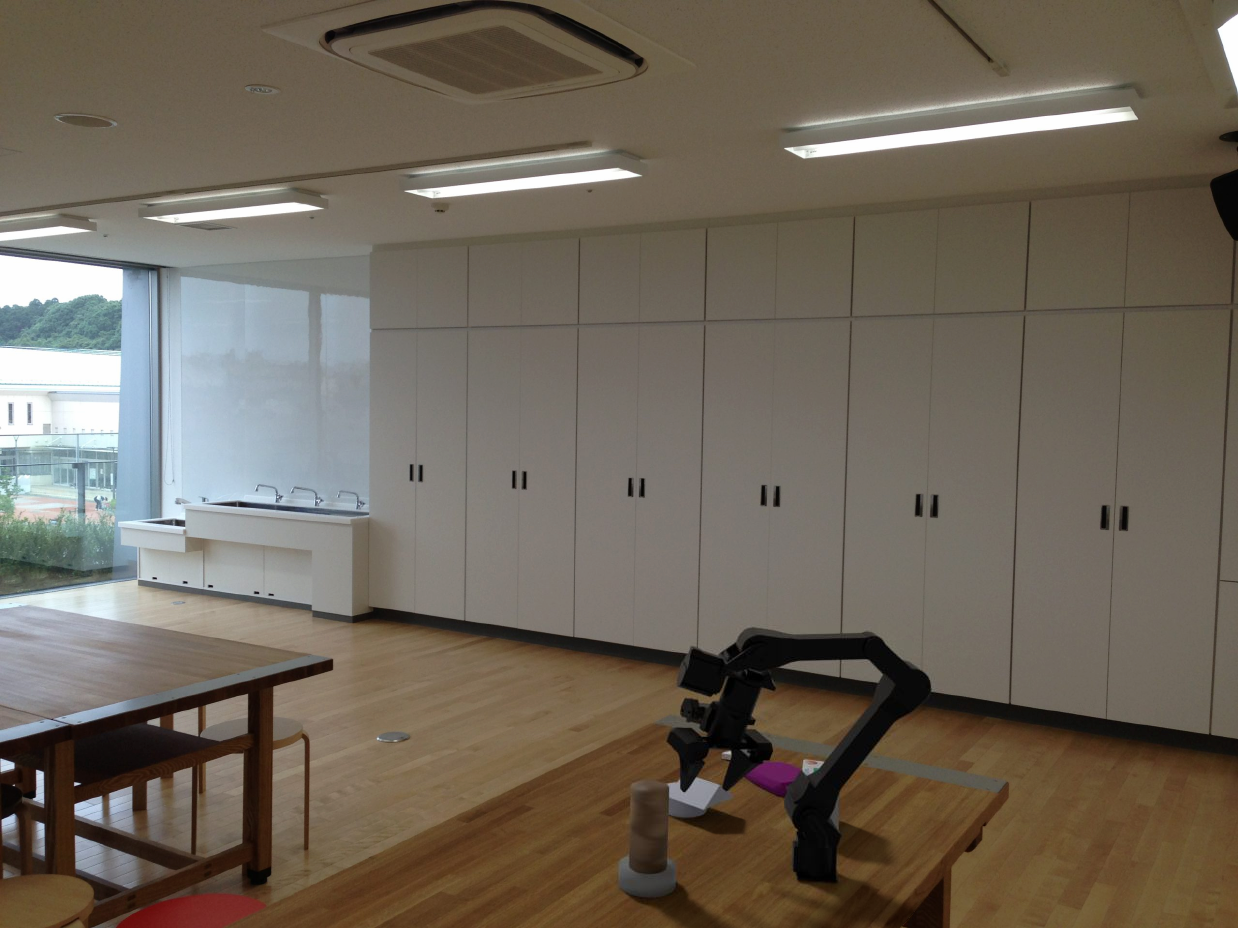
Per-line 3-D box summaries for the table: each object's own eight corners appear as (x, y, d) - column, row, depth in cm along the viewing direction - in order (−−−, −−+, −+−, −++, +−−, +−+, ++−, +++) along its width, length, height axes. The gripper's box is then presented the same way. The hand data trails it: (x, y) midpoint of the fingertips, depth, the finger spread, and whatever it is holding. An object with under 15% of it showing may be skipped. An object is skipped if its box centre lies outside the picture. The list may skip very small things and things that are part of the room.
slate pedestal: (675, 872, 165) (676, 854, 165) (675, 898, 156) (675, 879, 156) (620, 869, 166) (620, 851, 166) (616, 895, 157) (616, 876, 157)
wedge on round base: (733, 814, 190) (679, 795, 199) (734, 778, 190) (680, 761, 199) (703, 827, 184) (648, 807, 193) (704, 791, 184) (649, 772, 192)
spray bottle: (776, 799, 199) (710, 762, 221) (821, 791, 204) (752, 755, 226) (776, 784, 199) (710, 748, 221) (822, 777, 204) (753, 742, 226)
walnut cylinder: (667, 858, 164) (669, 781, 163) (666, 874, 158) (669, 794, 157) (629, 856, 164) (632, 779, 164) (627, 872, 158) (629, 792, 158)
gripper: (747, 682, 177) (716, 762, 179) (663, 677, 166) (632, 763, 168) (789, 715, 168) (756, 799, 170) (704, 712, 157) (670, 802, 159)
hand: (703, 790), depth 167 cm, fingers open, 9 cm apart
